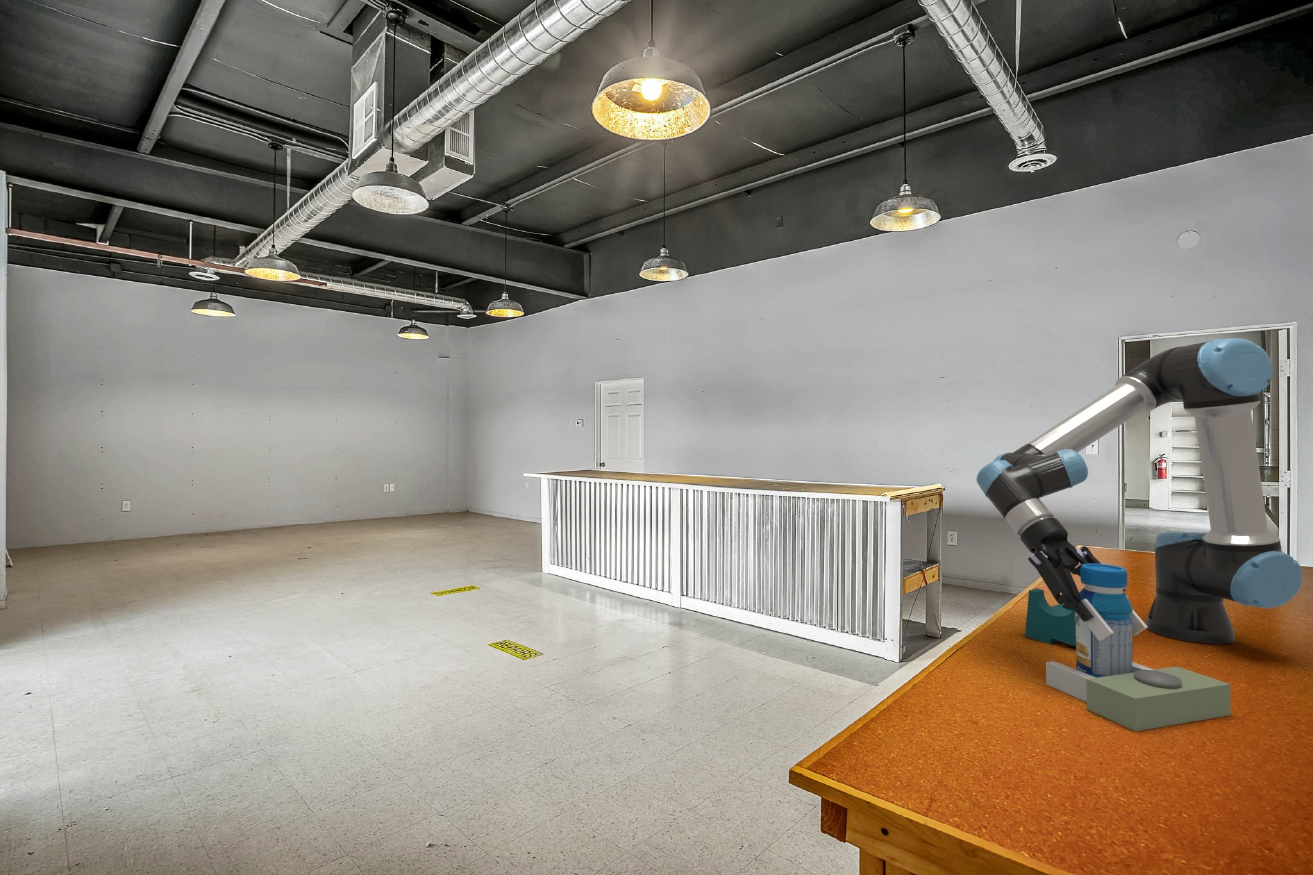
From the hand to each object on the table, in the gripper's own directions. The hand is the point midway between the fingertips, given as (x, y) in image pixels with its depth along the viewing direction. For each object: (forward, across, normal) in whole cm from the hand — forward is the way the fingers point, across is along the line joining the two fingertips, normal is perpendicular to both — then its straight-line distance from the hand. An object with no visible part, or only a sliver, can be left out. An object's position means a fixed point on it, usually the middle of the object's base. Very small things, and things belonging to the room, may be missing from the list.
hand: (1123, 633), depth 106 cm
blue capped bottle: (+4, 0, -9) cm, 10 cm away
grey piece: (+8, 0, -7) cm, 11 cm away
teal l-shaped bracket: (-11, -23, -27) cm, 37 cm away
